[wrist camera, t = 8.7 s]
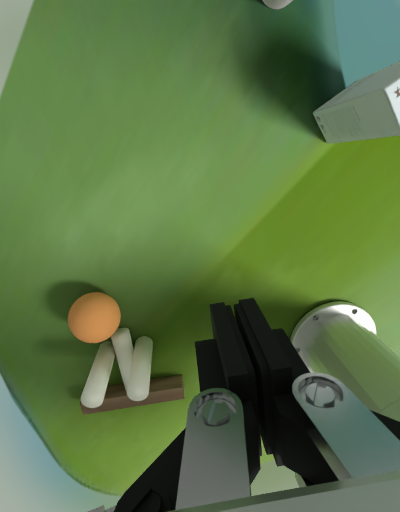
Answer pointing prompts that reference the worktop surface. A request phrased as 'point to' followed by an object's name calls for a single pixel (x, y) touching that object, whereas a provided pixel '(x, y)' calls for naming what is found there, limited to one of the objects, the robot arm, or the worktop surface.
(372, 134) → the skincare box
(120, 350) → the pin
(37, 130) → the worktop surface
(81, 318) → the brown egg
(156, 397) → the brown wooden bar
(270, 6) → the smoothie
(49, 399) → the worktop surface
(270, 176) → the worktop surface
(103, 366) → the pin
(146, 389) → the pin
